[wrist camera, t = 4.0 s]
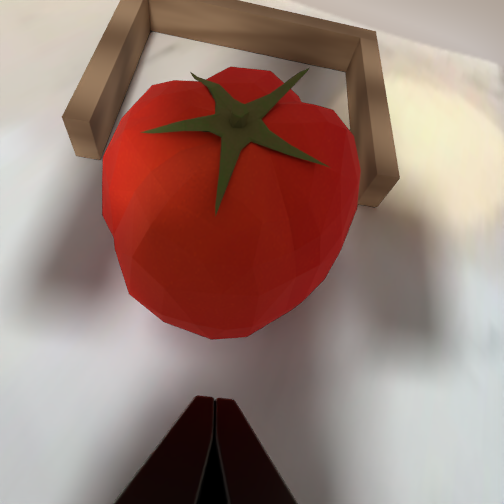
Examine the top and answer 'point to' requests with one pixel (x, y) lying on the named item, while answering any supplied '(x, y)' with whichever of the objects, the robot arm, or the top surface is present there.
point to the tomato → (228, 199)
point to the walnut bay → (249, 39)
